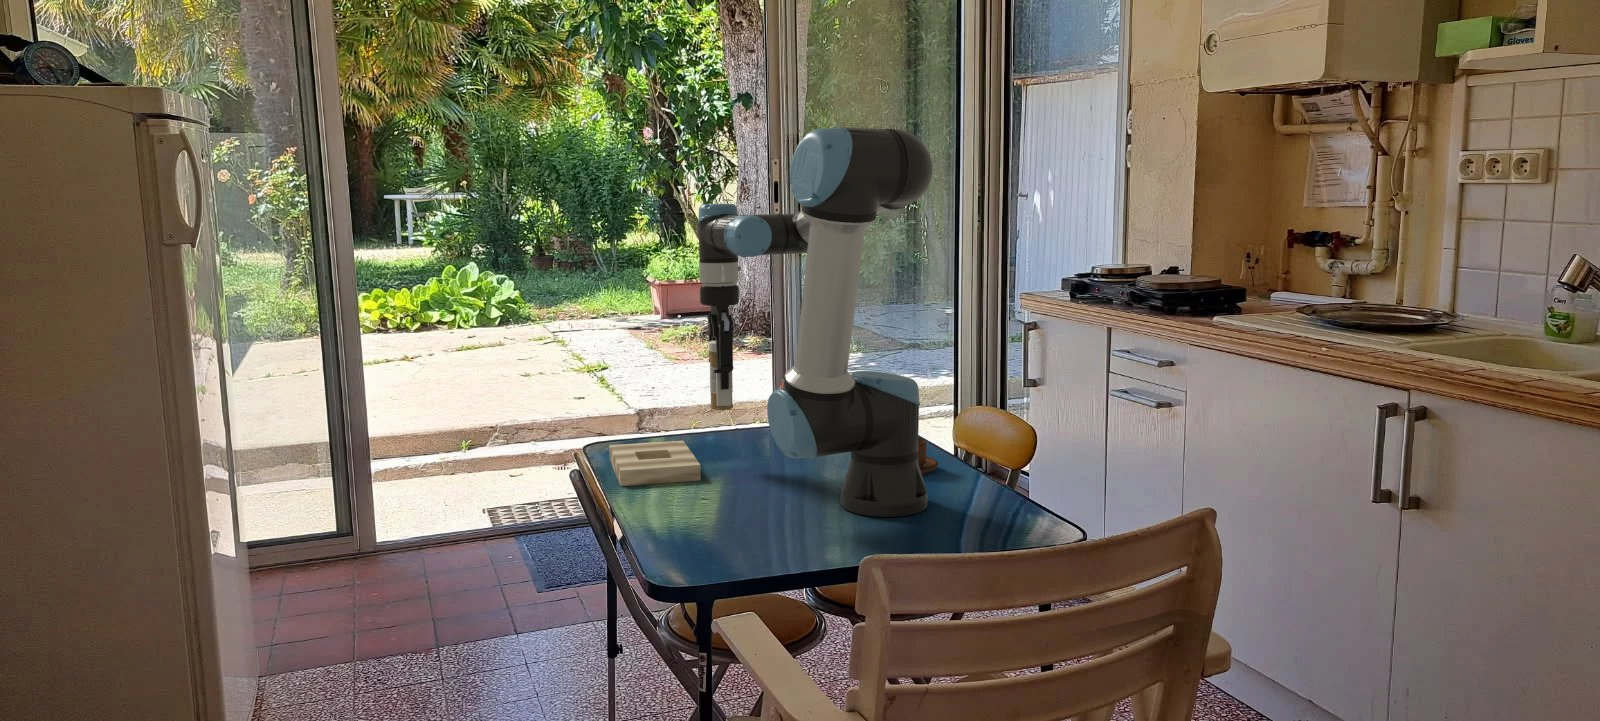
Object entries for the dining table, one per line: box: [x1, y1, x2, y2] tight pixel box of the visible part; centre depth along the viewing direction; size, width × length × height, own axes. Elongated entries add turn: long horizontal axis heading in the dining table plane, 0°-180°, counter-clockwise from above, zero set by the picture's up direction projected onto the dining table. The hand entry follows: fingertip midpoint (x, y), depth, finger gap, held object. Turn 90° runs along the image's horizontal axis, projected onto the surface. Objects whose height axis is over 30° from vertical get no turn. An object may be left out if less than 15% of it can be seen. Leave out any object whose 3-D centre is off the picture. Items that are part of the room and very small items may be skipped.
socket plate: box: [608, 440, 702, 487], centre depth 216 cm, size 20×15×3 cm
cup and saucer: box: [918, 436, 939, 475], centre depth 215 cm, size 12×12×6 cm
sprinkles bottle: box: [708, 340, 734, 411], centre depth 216 cm, size 5×5×14 cm
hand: (721, 402), depth 217 cm, fingers closed on sprinkles bottle, 4 cm apart
